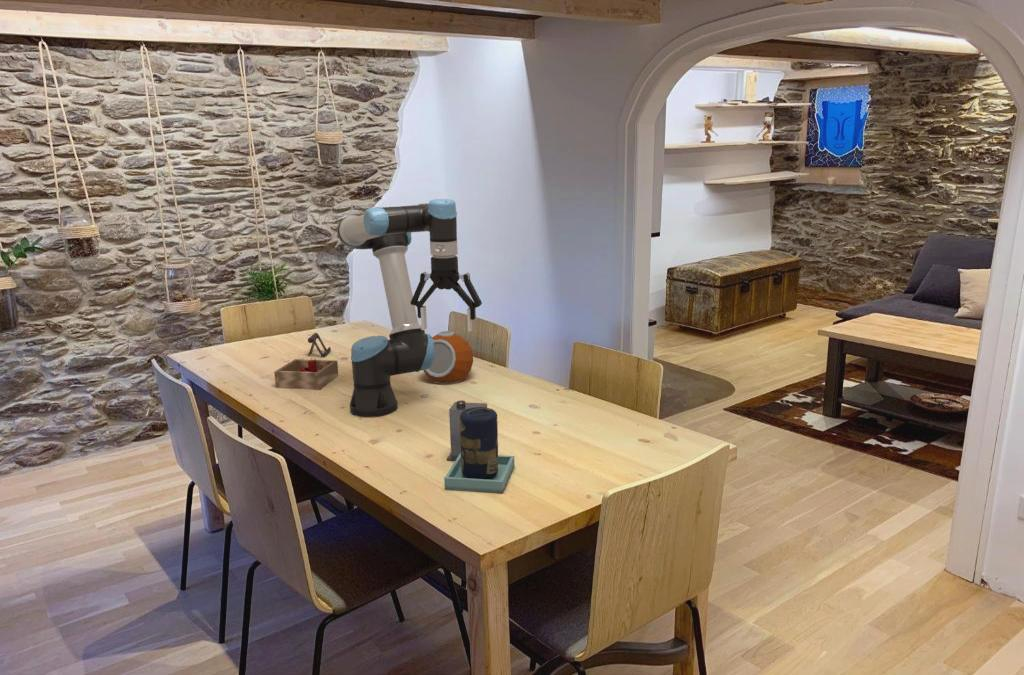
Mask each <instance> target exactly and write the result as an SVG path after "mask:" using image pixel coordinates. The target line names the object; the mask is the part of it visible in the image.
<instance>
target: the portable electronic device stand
mask: <svg viewBox="0 0 1024 675" xmlns="http://www.w3.org/2000/svg"><path fill="white" fill-rule="evenodd" d="M317 339H318V341H319V342H320V345H321V346H322V348H323V350H324V352H322V350H321V348H320V347H319V345H318V343H317ZM307 342H308V343H309V344H311V347H310V349H309V352H308V355H307V356H308V357H309V356H310V355H311V354H312V353H313V350H314V348H316V350H317V351H318V353H319V355H320V357H322V358H326V356H327V355H329V353H330V352H331V351H332V348H331V346H329V347H328V348H326V346H325V344H324V341H323V340H322V338H321V337H320V335H319V333H318V332H314V333H313V334H312V335H311V336H309V337H308V339H307Z"/></svg>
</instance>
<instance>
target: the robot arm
mask: <svg viewBox="0 0 1024 675" xmlns="http://www.w3.org/2000/svg"><path fill="white" fill-rule="evenodd" d="M457 214H458V211H457V204H456V202H455V200H454V199H449V198H447V199H446V198H440V199H431V200H429V202H427V203H419V204H413V205H399V206H383V207H380V206H376V207H372V208H370V207H369V208H367V209H365V211H364V213H355V214H351V215H348V216H345V217H344V218H342V219H341V220H340V221H339V223H338V224H337V227H336V234H337V238H338V239H339V241H340V242H341V244H343V245H344V246H346V247H347V248H350V249H355V250H372V255H373V256H374V257H375V258H377V259H378V261H379V268H380V272H381V276H382V281H383V287H384V293H385V296H386V301H387V308H388V312H389V313H388V314H389V319H390V322H391V327H392V329H391V331H390V332H389V334H388V337H389V339H388V337H387V336H385V335H371V336H367V337H363V338H361V339H359V340H357V341H355V342H354V343H353V344H352V345H351V347H350V348H351V350H350V351H351V352H350V353H351V355H350V360H351V369H352V380H353V390H352V395H351V398H350V403H349V412H350V414H352V415H353V416H355V417H361V418H377V417H382V416H387V415H390V414H392V413H395V412H396V411H397V410H398V400H397V397H396V395H395V392H394V390H393V388H392V386H391V377H392V376H398V375H403V374H409V373H410V374H411V373H417V372H421V371H424V370H426V369H428V368H429V367H430V366H431V365H432V363H433V359H434V342H433V339H432V337H433V336H432V335H431V334H429V333H426V331H425V330H426V329H428V326H427V325H428V323H427V322H428V320H427V306H426V305H424V304H425V303H426V302H427V300H429V298H430V297H431V295H433V293H434V292H435V291H436V289H438V290H448V291H449V290H453V291H454V292H456V294H457V295H458V296H459V297H460V298H461V299H462V301H463V302H464V303H465V304H466V305H467V309H466V316H467V321H466V323H467V332H468V333H471V332H472V331H473V328H474V327H473V321H474V320H475V319H476V318H477V317H476V316H477V314H476V308H480V306H481V305H482V304H483V302H482V300H481V298H480V296H479V294H478V291H476V289H475V286H474V285H473V283H472V281H471V275H470V273H469V272H465V273H459V258H458V256H457V255H458V235H457V234H458V232H457V230H458V229H457V228H458V227H457V226H458V225H457V223H458V222H457V217H458V216H457ZM421 232H423V233H424V232H429V245H430V247H429V249H430V255H431V258H430V270H431V272H430V273H428V272H426V271H423V272H422V273H420V274H419V276H420V277H419V283H418V285H417V286H416V289H415V292H414V294H413V289H412V286H411V281H410V276H409V271H408V265H407V259H406V253H407V252H408V250H409V247H408V246H410V244H411V242H412V239H413V238H412V233H421ZM429 279H430V280H431V282H432V284H431V286H430V287H429V288H428V289H427V291H426V292H425V294H424V295H423V296H422V297H421V295H422V291H423V290H424V288H425V284H426V283H427V281H428V280H429ZM460 279H461V281H462V282H463V283H464V285H465V287H466V290H467V292H468V293H469V295H470V296H469V295H468V293H467V292H466V291H465V290H464V289H463V288H462V286H461V284H460V283H459V280H460ZM420 297H421V298H420ZM419 298H420V300H419ZM418 319H420V323H419V320H418Z"/></svg>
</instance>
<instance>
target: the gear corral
mask: <svg viewBox="0 0 1024 675" xmlns="http://www.w3.org/2000/svg"><path fill="white" fill-rule="evenodd" d="M310 360H311V359H303V358H302V359H299V358H296V359H293V360H291V361H290V362H287V363H286V364H285V365H283V366H281V367H279V368H278V369H276V370H275V371H274V382H275V388H277V389H296V390H299V389H301V390H322V389H323V388H324V387H326V386H327V385H329V384H330V383H331V382H333V381H334V380H335V379H337V378H338V377H339V376H340V375H339V364H338V360H335V359H334V360H332V359H331V360H328V359H327V360H326V359H325V360H324V359H315V360H316V369H317V371H318V372H300V371H299V369H300V367H308V361H310ZM321 365H322V367H323V368H322V367H320V366H321ZM320 368H322V369H321V370H320Z"/></svg>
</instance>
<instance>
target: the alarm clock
mask: <svg viewBox="0 0 1024 675" xmlns="http://www.w3.org/2000/svg"><path fill="white" fill-rule="evenodd" d="M431 337H432V339H433V342H434V359H433V363H432V365H431V366H430V367H429V368H428V369H426V370H423V372H424V374H425V376H427V378H428V379H430V381H431V382H432V383H436V384H443V385H444V384H447V385H448V384H451V385H452V384H456V383H460V382H462V381H464V380H465V379H466V377H467V376H468V375H469V373H470V372H472V367H473V363H474V355H473V351H472V348H471V346H470V344H469V342H468V341H466V340H465V339H464V338H463V336H461V335H458V334H456V333H454V331H451V330H442V331H439V332H438V333H437V334H436V335H434V336H431Z"/></svg>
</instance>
